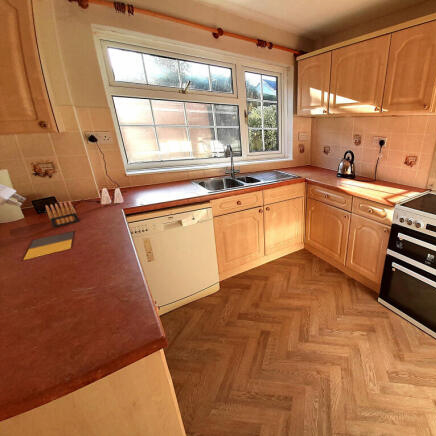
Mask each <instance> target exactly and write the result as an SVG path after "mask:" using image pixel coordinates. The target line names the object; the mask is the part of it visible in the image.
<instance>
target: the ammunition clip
mask: <svg viewBox="0 0 436 436" xmlns="http://www.w3.org/2000/svg"><path fill="white" fill-rule="evenodd" d="M54 206H55V207H54ZM45 210H46V212H47V215H48V218H49V221H50V223H51V226H52V228H53V229H55V228H60V227H63V226H64V227H65V226H67V225H72V224H75V223H79V222H80V219H79V217H78V215H77V213H76V210H75V207H74V206H73V204H72V203H71V201H70V200H68V202H66V201H63V203H62V202H59V205H58V204H57V202H55V204H54V205H53V204H52V203H50V207H49V206H48V205H47V204H45Z"/></svg>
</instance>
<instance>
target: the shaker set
mask: <svg viewBox="0 0 436 436" xmlns="http://www.w3.org/2000/svg"><path fill="white" fill-rule="evenodd" d="M122 195H123V194H122V193H121V190H120V188H119V187H117V188H115V190H114V200H113V201H114V202H113V204H122V203H123V202H125V201H124V197H123V196H122ZM111 203H112V199H111V197H110V194H109V191H108V189H107V188H106V187H103V188H102V190H101V200H100V204H101V205H103V206H108V205H111Z"/></svg>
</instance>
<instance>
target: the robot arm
mask: <svg viewBox="0 0 436 436" xmlns="http://www.w3.org/2000/svg"><path fill="white" fill-rule="evenodd" d="M13 199H15V200H13ZM16 200H17V201H16ZM26 200H27V198H26V197H23V196H21V195H20V194H18V193H17V190H16V189H14V188H12V187H9V186H6V185H3V184H1V183H0V206H4V205H5V204H7V205H11V206H15V207H18V208H20V207H21V206H22V205H23V203H24V202H25V201H26Z"/></svg>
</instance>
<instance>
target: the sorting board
mask: <svg viewBox="0 0 436 436" xmlns="http://www.w3.org/2000/svg"><path fill="white" fill-rule="evenodd" d="M74 232H75V231H69V232H68V231H67V232H64V233H60V234H59V233H58V234H54V235H50V236H47V237H41V238H37V239H34V240H32V242H31V245H29V248H28V250H27V252H26V253H25V256H24V258H23V259H22V260H23V261H25V260H30V259H35V258H37V257H42V256H45V255H49V254H55V253H57V252H61V251H62V252H63V251H66V250H69V249H72V241H73V237H74Z"/></svg>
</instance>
